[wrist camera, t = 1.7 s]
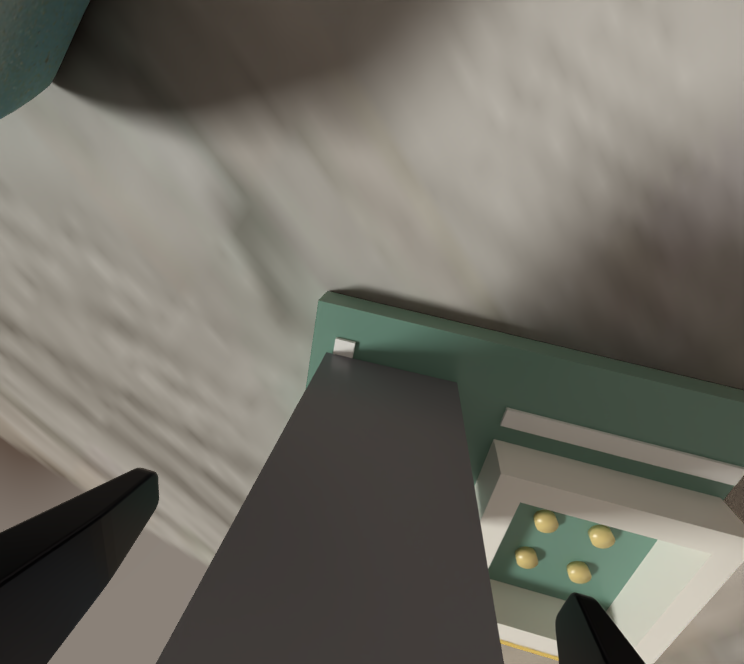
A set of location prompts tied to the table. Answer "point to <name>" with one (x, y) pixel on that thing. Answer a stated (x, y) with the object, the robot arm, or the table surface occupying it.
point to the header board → (574, 470)
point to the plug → (353, 537)
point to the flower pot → (33, 46)
